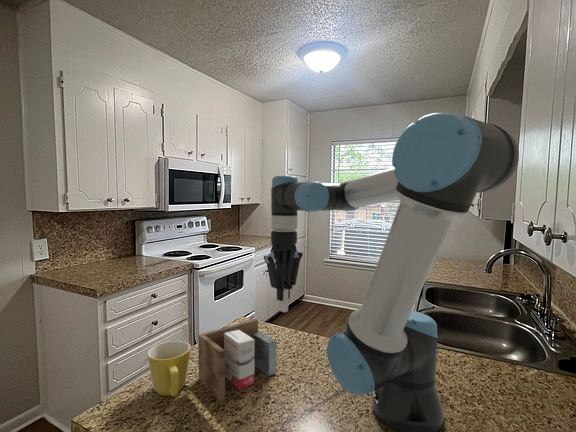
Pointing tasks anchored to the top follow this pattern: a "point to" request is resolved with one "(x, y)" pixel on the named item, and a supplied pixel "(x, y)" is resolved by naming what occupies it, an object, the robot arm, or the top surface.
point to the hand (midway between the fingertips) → (283, 310)
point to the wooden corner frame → (218, 356)
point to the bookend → (265, 353)
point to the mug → (169, 366)
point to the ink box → (239, 358)
